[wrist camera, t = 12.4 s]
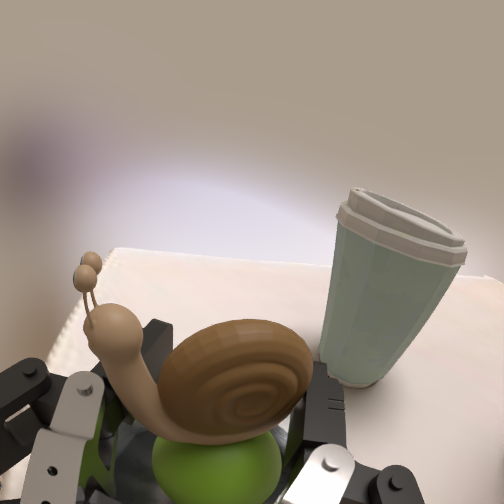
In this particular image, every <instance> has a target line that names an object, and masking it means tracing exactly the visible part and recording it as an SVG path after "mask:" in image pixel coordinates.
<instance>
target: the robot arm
mask: <svg viewBox="0 0 504 504" xmlns="http://www.w3.org/2000/svg"><path fill="white" fill-rule="evenodd" d="M142 330H143V342H142V346H141V350H140V352H141V355H142V358H143V360H144V362H145V365H146V367H147V369H148V371H149V373H150V375H151V377H152V379H153V381H154V382H155V384H158V377H159V373H160V371H161V368H162V365H163V363H164V361H165V360H166V358H167V357H168V356H169V354H170V353H171V352H172V351H173V326H172V324H169V323H166V322H163V321H160V320H157V319H152V320H151V321H150V322H149V323H148V324H147V326H146V327H145V328H142ZM343 402H344V394H343V388H342V386H341V385H340V383H339V381H338V379H336V378H330V377H328V374H327V363H323V362H318V361H313V375H312V379H311V382H310V385H309V388H308V389H307V391H306V393H305V394H304V396H303V397H302V399H301V400H300V401H299V402H298V403H297V405H296V406H295V407H293V410H292V412H291V413H290V421H289V429H288V436H287V443H286V450H285V456H284V463H283V469H282V472H289V473H290V479H289V483H288V484H287V485H286V487H285V488H284V490H283V491H282V493H281V494H280V495H279V497H278V498H277V500H276V501H275V502H274V504H425V503H424V500H423V497H422V495H421V492H420V489H419V487H418V484H417V482H416V479H415V477H414V475H413V473H412V472H411V471H410V470H409V469H407V468H406V467H404V466H401V465H391V466H388V467H386V468H384V469H383V470H382V471H380V470H377V469H374V468H370V467H367V466H364V465H362V464H360V463H358V462H356V461H355V460H354V457H353V456H352V454H351V453H350V452H349V451H348V450H347V446H346V425H345V412H344V410H345V408H344V403H343ZM28 404H29V406H30V407H29V408H28V409H26V410H25V411H23V412H22V413H21V414H19V415H18V416H16V417H15V418H13V419H12V420H10V421H8V422H5V420H6V419H7V418H8V417H10V416H11V415H13V414H14V413H16V412H17V411H19V410H20V409H22V408H23V407H25V406H26V405H28ZM122 421H123V422H125V423H127V424H129V425H131V426H132V424H133V423H134V421H135V418H134V417H133V416H132V415H131V414H130V413H129V411H128V410H127V409H126V407H125V406H124V405H123V403H122V402H121V400H120V399H119V397H118V396H117V394H116V392H115V391H114V389H113V387H112V386H111V384H110V382H109V380H108V378H107V375H106V373H105V370H104V368H103V365H102V363H101V362H99V363H98V364H97V365H96V366H95V367H94V368H93V369H92V370H91V371H90V372H89V371H80V372H76V373H74V374H72V375H71V376H69V377H64V376H60V375H57V374H53V373H49V371H48V369H47V366H46V364H45V363H44V362H43V361H42V360H40V359H38V358H27V359H24V360H22V361H20V362H18V363H16V364H15V365H13V366H11V367H10V368H8V369H6V370H5V371H3V372H1V373H0V475H2V474H3V473H4V472H6V471H7V470H9V469H10V468H11V467H13V466H14V465H15V464H17V463H18V462H20V461H21V460H22V459H24V458H25V457H26V456H28V455H29V454H30V453H31V456H30V460H29V464H28V468H27V472H26V476H25V481H24V486H23V491H22V496H21V498H20V499H12V500H2V501H0V504H122V503H120V502H118V501H116V485H115V480H114V466H115V456H116V448H117V440H118V427H119V426H120V424H121V423H122ZM1 488H2V484H1V482H0V490H1Z"/></svg>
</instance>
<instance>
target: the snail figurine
mask: <svg viewBox="0 0 504 504" xmlns="http://www.w3.org/2000/svg"><path fill="white" fill-rule="evenodd" d="M101 269H102V260H101V258H100V256H99V255H98V254H96V253H94V252H87V253H85V254H84V255H83V256H82V258H81V263H80V266H78V267H77V268H76V270H75V272H74V275H73V283H74V287H75V288H76V289H77V290H78V291H80V292H83V299H84V305H85V310H86V313H87V317H86V319H85V321H84V325H83V330H84V333H85V335H86V336H87V339H88V345H89V348H90V350H91V351H92V352H93V353H94V354H95V355H96V356H97V357H98V359H99V360H100V362H101V363H102V365H103V368H104V370H105V373H106V375H107V378H108V380H109V382H110V384H111V386H112V387H113V389H114V391H115V392H116V394H117V396H118V397H119V399H120V400H121V402H122V403H123V405H124V406H125V407H126V409H127V410H128V411H129V413H130V414H131V415H132V416H133V417H134V418H135V419H136V420H137V421H138V422H139V423H140V424H141V425H142V426H144V427H145V428H146V429H148V430H149V431H150V432H152V433H153V434H155V435H157V438H156V441H155V443H154V447H153V451H152V466H153V471H154V475H155V477H156V480H157V482H158V484H159V485H160V487H161V489H162V490H163V491H164V493H165V494H166V495H167V496H168V497H169V498H170V499H171V500H172V501H173V502H175V503H176V504H262V503H264V502H265V501H266V500H267V499H268V498H269V497H270V495H271V494H272V493H273V491H274V490H275V488H276V486H277V484H278V482H279V479H280V475H281V468H282V461H281V454H280V450H279V447H278V444H277V442H276V440H275V439H274V437H273V435H272V434H271V433H270V431H269V430H271V429H272V428H274V427H275V426H277V425H278V424H279V423H281V422H282V421H283V420H284V419H285V418H286V417H287V416H288V415H289V414H290V413H291V412H292V410H293V407H295V406H296V405H297V403H298V402H299V401H300V400H301V399H302V397H303V396H304V394H305V393H306V391H307V389H308V388H309V385H310V382H311V379H312V375H313V360H312V356H311V352H310V350H309V348H308V346H307V345H306V343H305V341H304V340H303V339H302V338H301V337H300V336H299V335H297V334H296V333H295V332H294V331H293V330H291V329H289V328H287V327H285V326H283V325H281V324H279V323H275V322H271V321H267V320H257V319H242V320H232V321H227V322H223V323H219V324H215V325H212V326H210V327H207V328H205V329H202V330H200V331H198V332H196V333H195V334H193V335H191V336H190V337H188V338H186V339H185V340H184V341H183V342H182V343H180V344H179V345H178V346H177V347H176V348H175V349H174V350H173V351H172V352H171V353H170V354H169V356H168V357H167V358H166V360H165V361H164V363H163V365H162V368H161V371H160V373H159V377H158V384H155V382H154V381H153V379H152V377H151V375H150V373H149V371H148V369H147V367H146V365H145V362H144V360H143V358H142V355H141V352H140V350H141V346H142V342H143V330H142V326H141V324H140V322H139V320H138V318H137V317H136V316H135V315H134V314H133V313H132V312H131V311H130V310H129V309H127V308H125V307H123V306H121V305H118V304H112V303H108V304H103V305H100V306H98V305H97V303H96V300H95V297H94V293H93V289H94V288H95V286H96V284H97V275H98V274H99V273H100V271H101ZM87 292H90V293H91V297H92V301H93V304H94V309H93V310H92V311H91V312H90V313H89V309H88V305H87V295H86V293H87Z"/></svg>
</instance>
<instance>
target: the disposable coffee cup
mask: <svg viewBox="0 0 504 504" xmlns="http://www.w3.org/2000/svg"><path fill="white" fill-rule="evenodd" d="M336 218H337V219H338V225H337V235H336V243H335V251H334V259H333V266H332V274H331V281H330V287H329V294H328V300H327V306H326V312H325V318H324V323H323V329H322V334H321V339H320V344H319V354H320V355H319V356H320V362H323V363H327V374H328V376H329V377H330V378H336V379H338V381H339V383H340V384H343V385H345V386H347V387H357V388H365V387H367V386H369V385H371V384H373V383H375V382H377V381H378V380H379V379H381V378H383V377H384V376H385V375H386V373H387V372H388V371H389V370H390V369H391V368H392V366H393V365H394V364H395V363H396V361H397V360H398V359H399V358H400V357H401V355H402V354H403V353H404V351H405V350H406V349H407V348H408V346H409V345H410V344H411V342H412V341H413V340H414V338H415V337H416V336H417V334H418V333H419V332H420V330H421V329H422V327H423V326H424V324H425V323H426V322H427V320H428V319H429V317H430V316H431V314H432V313H433V311H434V310H435V308H436V307H437V305H438V304H439V302H440V300H441V299H442V297H443V296H444V294H445V292H446V291H447V289H448V287H449V286H450V284H451V282H452V281H453V279H454V277H455V275H456V274H457V272H458V270H459V268H460V267H461V265H465V259H466V256H467V252H468V251H467V248H466V247H465V245H464V242H465V241H464V239H463V238H462V236H461V235H460V234H459V233H458V232H457V231H455V230H453V229H452V228H450V227H449V226H447V225H446V224H444V223H442V222H440V221H438V220H436V219H434V218H433V217H431V216H429V215H427V214H425V213H423V212H420V211H418V210H416V209H414V208H411V207H409V206H407V205H405V204H402V203H400V202H398V201H395V200H393V199H390V198H388V197H385V196H383V195H380V194H377V193H375V192H371V191H368V190H365V189H362V188H359V187H356V188H351V190H350V194H349V198H348V201H345V202H342V203H341V205H340V208H339V211H338V213H337V214H336Z"/></svg>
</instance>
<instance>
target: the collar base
mask: <svg viewBox="0 0 504 504" xmlns="http://www.w3.org/2000/svg"><path fill="white" fill-rule="evenodd" d="M289 421H290V414H289V415H288V416H287V417H286V418H285V419H284V420H283V421H282V422H281V423H279V424H278V425H277V426H275V427H274V428H272V429H271V430H269V431H270V433H271V434H272V435H273V437H274V439H275V440H276V442H277V444H278V447H279V450H280V454H281V461H282V468H281V475H280V479H279V482H278V484H277V486H276V488H275V490H274V491H273V493H272V494H271V495H270V497H269V498H268V499H267V500H266V501H265V502H264V503H262V504H274V502H275V501H276V500H277V498H278V497H279V495H280V494H281V493H282V491H283V490H284V488H285V487H286V485H287V484H288V483H289V479H290V473H289V472H282V469H283V463H284V456H285V450H286V443H287V436H288V429H289ZM156 438H157V435H155V434H153V433H152V432H150V431H149V430H148V429H146V428H145V427H144V426H142V425H141V424H140V423H139V422H138V421H137V420H136V419H135V421H134V423H133V424H132V426H131V425H129V424H127V423H125V422H123V421H122V423H121V424H120V426H119V427H118V440H117V448H116V456H115V466H114V480H115V485H116V501H118V502H120V503H122V504H176V503H175V502H173V501H172V500H171V499H170V498H169V497H168V496H167V495H166V494H165V493H164V491H163V490H162V489H161V487H160V485H159V484H158V482H157V480H156V477H155V475H154V471H153V466H152V451H153V447H154V443H155V441H156Z"/></svg>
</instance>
